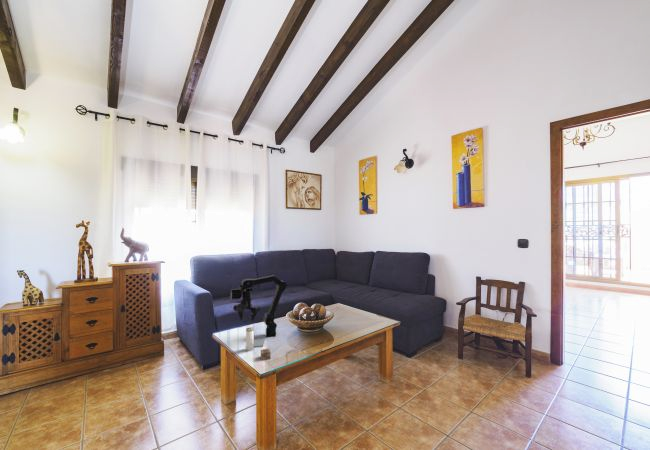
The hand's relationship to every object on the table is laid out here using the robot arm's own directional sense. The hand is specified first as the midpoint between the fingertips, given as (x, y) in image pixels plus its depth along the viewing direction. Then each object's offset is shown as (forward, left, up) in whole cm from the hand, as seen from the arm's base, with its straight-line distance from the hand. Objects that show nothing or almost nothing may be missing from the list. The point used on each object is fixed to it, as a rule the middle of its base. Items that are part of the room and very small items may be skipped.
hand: (246, 320), depth 189 cm
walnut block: (-16, +28, -13) cm, 35 cm away
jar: (-5, +16, -13) cm, 21 cm away
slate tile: (-7, +8, -13) cm, 17 cm away
